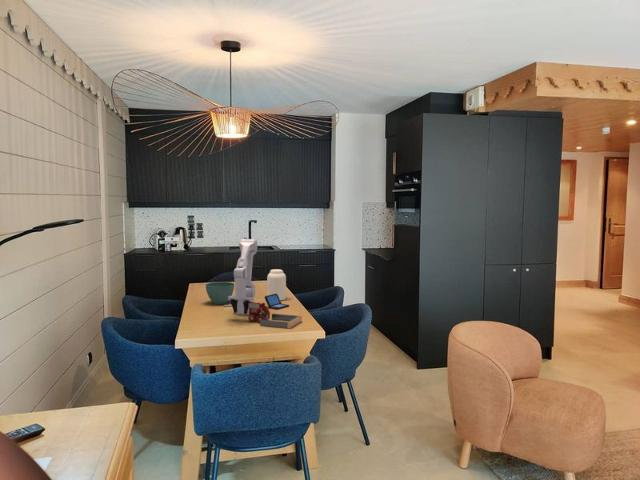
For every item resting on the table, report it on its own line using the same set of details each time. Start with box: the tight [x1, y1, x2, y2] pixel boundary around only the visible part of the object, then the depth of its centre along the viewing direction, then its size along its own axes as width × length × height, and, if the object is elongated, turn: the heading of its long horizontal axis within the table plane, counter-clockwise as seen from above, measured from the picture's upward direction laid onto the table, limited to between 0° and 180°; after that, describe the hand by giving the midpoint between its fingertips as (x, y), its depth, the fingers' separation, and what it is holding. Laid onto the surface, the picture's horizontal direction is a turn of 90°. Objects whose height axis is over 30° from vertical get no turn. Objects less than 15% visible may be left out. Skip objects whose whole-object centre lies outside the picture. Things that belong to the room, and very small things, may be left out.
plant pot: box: [205, 281, 235, 305], centre depth 310 cm, size 18×18×12 cm
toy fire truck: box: [248, 302, 271, 324], centre depth 263 cm, size 7×12×10 cm, turn 71°
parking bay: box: [259, 313, 303, 329], centre depth 259 cm, size 18×16×3 cm
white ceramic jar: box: [266, 268, 287, 302], centre depth 323 cm, size 12×12×20 cm
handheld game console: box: [264, 294, 290, 311], centre depth 299 cm, size 12×11×7 cm
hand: (240, 313), depth 267 cm, fingers open, 6 cm apart
